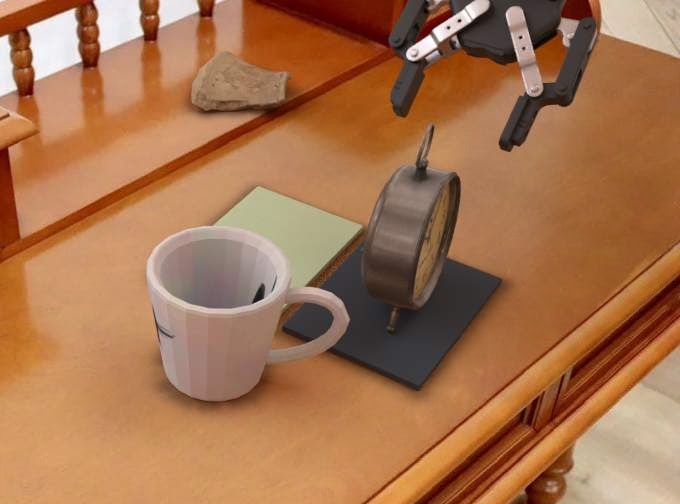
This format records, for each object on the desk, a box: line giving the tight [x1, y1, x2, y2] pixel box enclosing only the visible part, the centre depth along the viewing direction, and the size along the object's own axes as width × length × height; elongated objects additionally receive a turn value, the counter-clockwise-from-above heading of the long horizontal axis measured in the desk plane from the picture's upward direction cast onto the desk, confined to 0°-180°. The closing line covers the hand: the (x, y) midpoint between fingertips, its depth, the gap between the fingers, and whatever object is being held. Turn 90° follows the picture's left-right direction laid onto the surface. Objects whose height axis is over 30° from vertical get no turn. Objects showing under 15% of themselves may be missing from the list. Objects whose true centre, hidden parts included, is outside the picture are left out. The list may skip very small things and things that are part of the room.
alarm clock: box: [361, 122, 462, 333], centre depth 85 cm, size 11×5×16 cm, turn 150°
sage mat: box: [212, 185, 364, 317], centre depth 95 cm, size 11×16×1 cm
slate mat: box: [281, 239, 503, 392], centre depth 90 cm, size 12×16×1 cm
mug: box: [145, 225, 350, 402], centre depth 81 cm, size 10×15×10 cm
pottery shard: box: [190, 50, 292, 112], centre depth 115 cm, size 11×4×10 cm
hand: (450, 130), depth 83 cm, fingers open, 8 cm apart
